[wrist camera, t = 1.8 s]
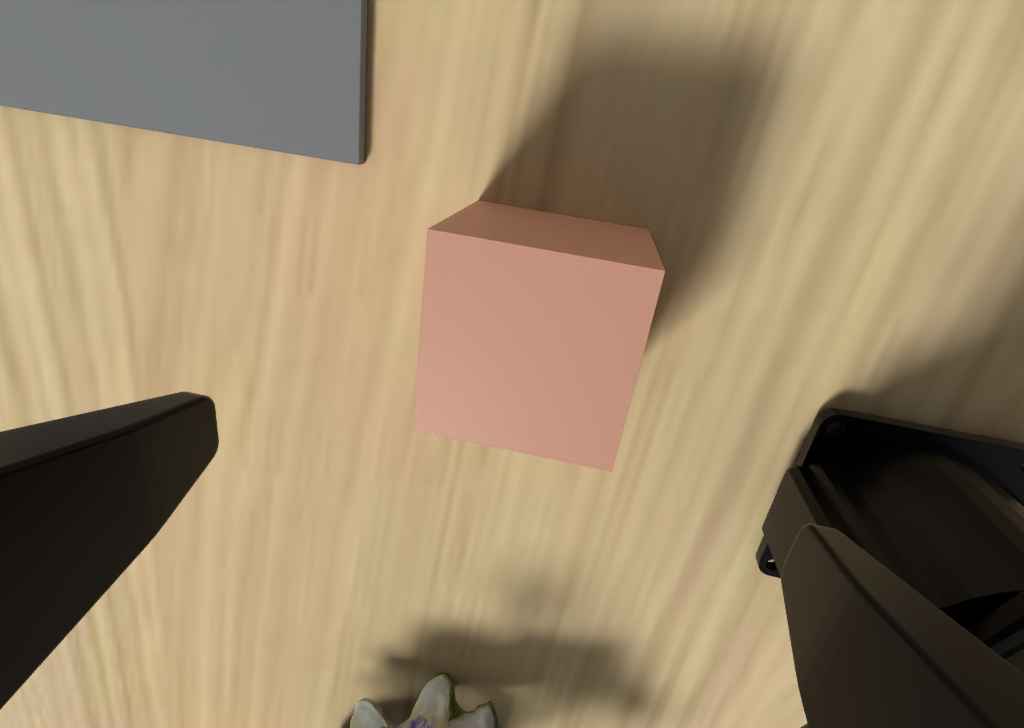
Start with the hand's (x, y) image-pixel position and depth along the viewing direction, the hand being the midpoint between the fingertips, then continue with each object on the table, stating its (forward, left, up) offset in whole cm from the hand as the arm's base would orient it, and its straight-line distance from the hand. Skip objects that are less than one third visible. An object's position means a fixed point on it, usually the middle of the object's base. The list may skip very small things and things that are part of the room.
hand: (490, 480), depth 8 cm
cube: (0, 0, -10) cm, 10 cm away
